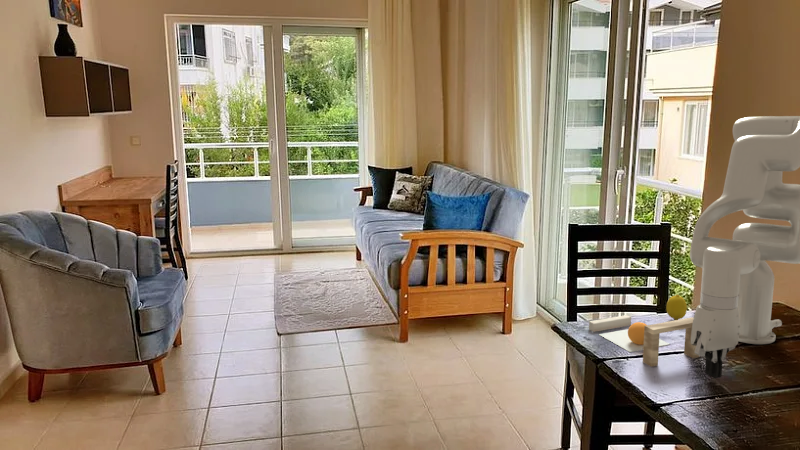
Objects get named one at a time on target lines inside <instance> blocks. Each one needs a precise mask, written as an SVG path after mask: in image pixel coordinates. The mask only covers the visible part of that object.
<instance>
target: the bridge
mask: <svg viewBox="0 0 800 450" xmlns="http://www.w3.org/2000/svg"><path fill="white" fill-rule="evenodd" d="M693 319H694V316H692V317H686V318H681V319H678V320H670V321H664V322H658V323H653V324H646V325H647V326H645V328H644V347H643V350H642V352H643V353H642V363H643V364H645V365H647V366H649V367H651V368H652V367H658V365H659V351H660V347H659V339H660V334H664V333H669V332H676V331H680V330H681V331H682V330H685V333H684V335H685V337H684V349H683V350H684V351H683V354H684V355H685V356H687V357H689V358H692V359H697V358H700V356H699V355H697V354H695V349H696V346H694V345H692V344H691V331H692V324H693Z"/></svg>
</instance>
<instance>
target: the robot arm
mask: <svg viewBox="0 0 800 450" xmlns="http://www.w3.org/2000/svg"><path fill="white" fill-rule="evenodd" d="M732 136H733V140H734V142H733V144H732V147H731V151H730V155H729V160H728V166H727V169H726V173H725V174H726V175H725V180H724V184H723V185H724V186H723V191H722V194H721V196H720V197H719V198H718V199H716V200H715V201H713V202H712V203H711V204H709V206H707V208H705V210H703V212H702V213H701V215H700V216H699V217H698V219H697V221H696V223H695V225H694V230H693V235H692V239H691V245H690V251H689V259H690V260H691V263H692V264H693V265H694V266H696V267H698V268H701V269H702V272H701V273H702V274H701V285H700V288H701V289H700V296H699V297H700V299H699V304H698V305H697V306H696V308H695V312H694V315H693V318H694V319H693V324H692V331H691V344H692V345H694V346H696V349H695V354H697V355H699V357H703V358H704V359H705V368H704V370H705V371H704V374H706V375H707V376H709V377H711V378H713V379H715V380H716V379H718V378H722V373H723V364H724V363H723V362H725V360H726V357H727V354H728V353H729V352H730V351H733V350H735V348H736V346H737V345H738V343H739V342H740V343H744V344H749V345H750V344H752V345H769V344H772V343H774V342H775V341H776V339H777V338H776V334H775V333H774V332H773V330H772V329H774V328H777V327H781V326H782V325H783V322H782V320H781V319H773V320H771V319H772V308H773V298H774V297H773V296H774V288H775V275H774V272H773V269H772V267H770V265H769V264H768V261H769V262H778V263H783V264H784V263H786V264H793V265H794V264H795V265H796V264H797V265H798V264H800V184H798V183H784V181H783V173H784V172H794V171H797V170H798V169H799V168H800V115H790V116H789V115H783V116H777V115H775V116H773V115H769V116H768V115H767V116H765V115H763V116H756V115H755V116H747V117H742V118H739V119H737V120H736V121H735V122H734V123H733V126H732ZM740 211H742V212H743V213H744V215H745V216H747V217H749V218H755V219H762V220H763V219H764V220H774V221H783V222H785V221H786V222H788V223H789V224H790V225H783V224H781V225H779V224H774V223H773V224H772V223H760V222H745V223H742V224H740V225H738V226H736V227H735V229H734V230H733V233H732V239H729V238H719V237H712V236H709V234H710V232H711V231H710V230H711V228H712V227H713V225H715V223H716V222H717V221H720V219H722V218H724V217H725V216H728V215H731V214H733V213H737V212H740Z"/></svg>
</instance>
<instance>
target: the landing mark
mask: <svg viewBox="0 0 800 450" xmlns="http://www.w3.org/2000/svg"><path fill="white" fill-rule="evenodd" d="M628 329H629V328H628ZM628 329H627V328H626V329H621V330H616V331H611V332H604V333H599V334H598V336H599V337H601V336H602V338H603V337H604V339H605V340H607V341H608V342H610V341H611V343H612V342H613V344H614V345H616V346H617V345H618V347H619V348H622V349H623V350H625V351H626V352H628V353H633V352H634V353H635V352H639V351H643V347H644V344H643V345H638V344H635V343H633V342H632V341H631V340H630V339H629V336H628ZM670 345H671V344H670V343H669V342H667V341H665V340H663V339H661V338H659V348H660V347H661V348H662V347H665V346H670Z"/></svg>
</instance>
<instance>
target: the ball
mask: <svg viewBox="0 0 800 450" xmlns="http://www.w3.org/2000/svg"><path fill="white" fill-rule="evenodd" d="M647 325H648V324H647V323H644V322H642V321H641V322H639V321H636V322H633V323H631V325H630V326H628V336H629V339H630V340H631V341H632V342H633V343H635V344H638V345H643V344H644V328H645V326H647Z"/></svg>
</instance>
